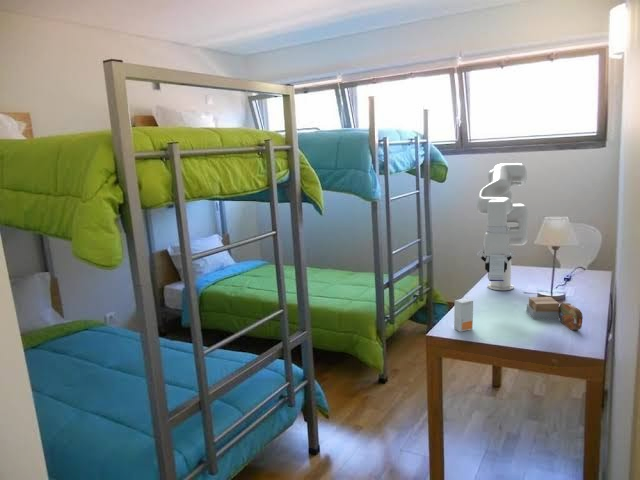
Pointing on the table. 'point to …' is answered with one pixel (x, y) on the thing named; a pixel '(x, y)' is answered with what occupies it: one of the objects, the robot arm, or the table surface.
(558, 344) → the table surface
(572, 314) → the tin
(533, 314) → the tower base
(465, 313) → the skincare box
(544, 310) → the tower top
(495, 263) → the supplement box
